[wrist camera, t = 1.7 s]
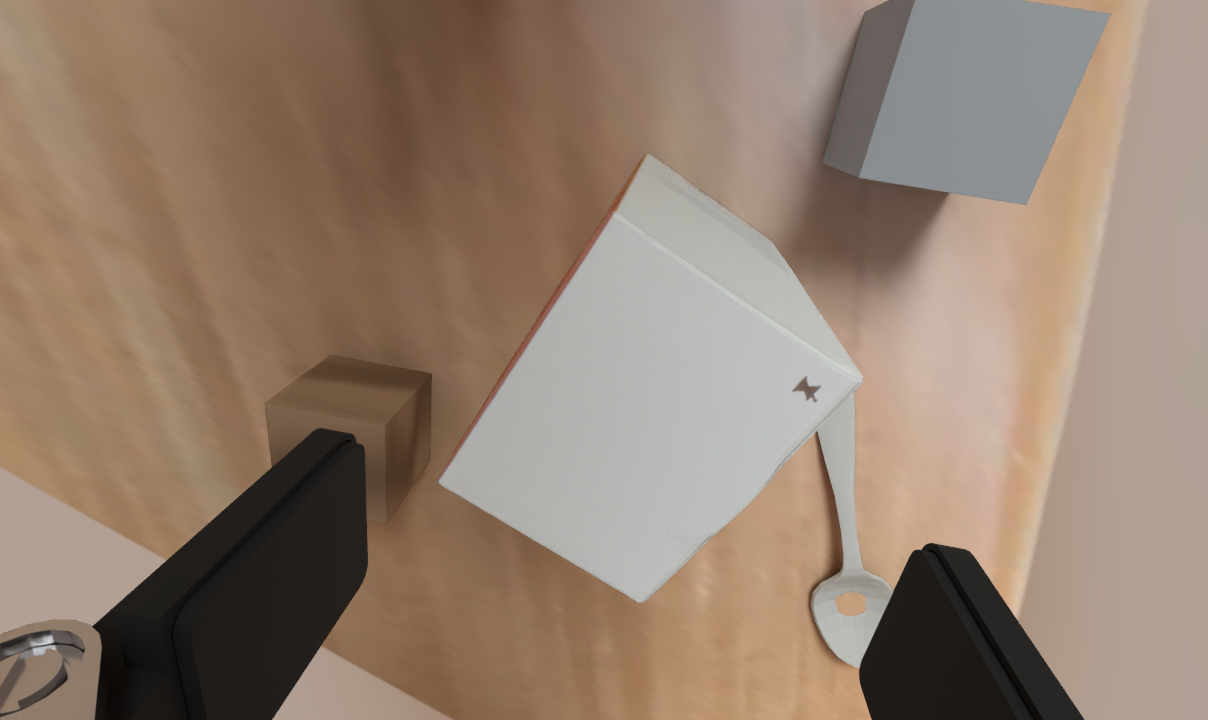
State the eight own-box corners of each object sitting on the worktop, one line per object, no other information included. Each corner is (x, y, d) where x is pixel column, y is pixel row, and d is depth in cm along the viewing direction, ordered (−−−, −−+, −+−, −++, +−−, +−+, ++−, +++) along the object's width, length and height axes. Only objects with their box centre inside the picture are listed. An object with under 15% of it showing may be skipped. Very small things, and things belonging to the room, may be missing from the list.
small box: (645, 148, 23) (614, 200, 11) (775, 240, 23) (879, 382, 12) (541, 310, 26) (428, 488, 14) (659, 386, 27) (646, 614, 15)
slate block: (864, 12, 20) (919, -15, 16) (1011, 34, 20) (1110, 13, 15) (821, 162, 22) (858, 178, 18) (953, 184, 22) (1026, 205, 17)
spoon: (814, 646, 33) (821, 673, 31) (770, 301, 25) (775, 314, 23) (893, 641, 32) (904, 668, 30) (872, 283, 24) (885, 295, 23)
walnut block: (331, 354, 28) (265, 403, 23) (432, 372, 28) (384, 425, 23) (336, 442, 30) (275, 502, 25) (430, 459, 30) (386, 523, 25)
